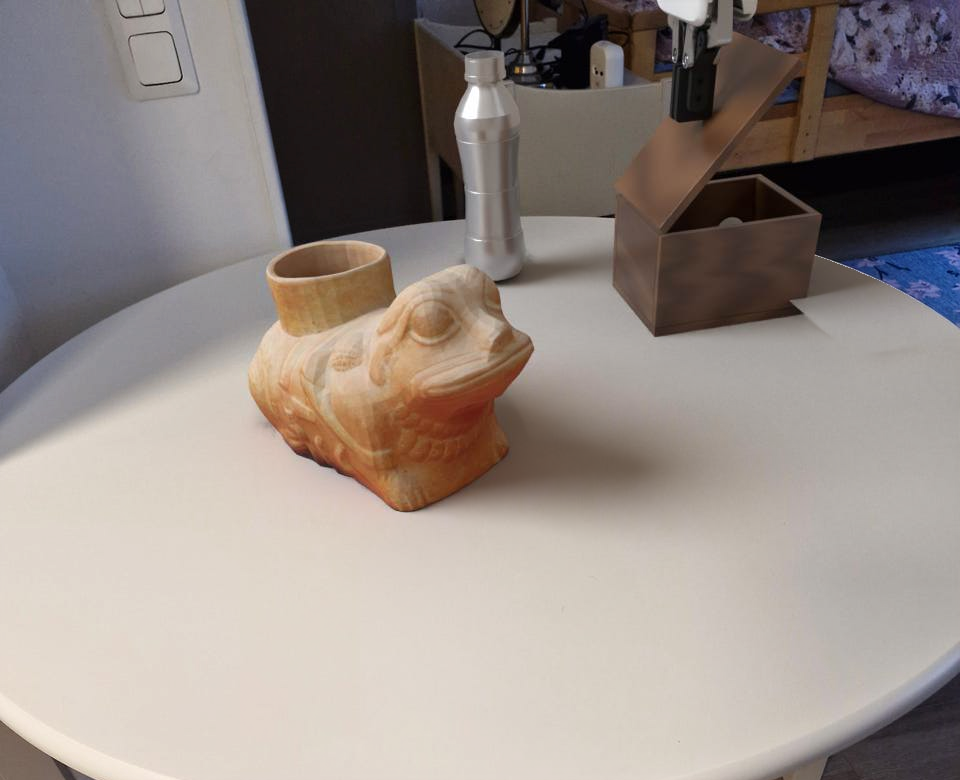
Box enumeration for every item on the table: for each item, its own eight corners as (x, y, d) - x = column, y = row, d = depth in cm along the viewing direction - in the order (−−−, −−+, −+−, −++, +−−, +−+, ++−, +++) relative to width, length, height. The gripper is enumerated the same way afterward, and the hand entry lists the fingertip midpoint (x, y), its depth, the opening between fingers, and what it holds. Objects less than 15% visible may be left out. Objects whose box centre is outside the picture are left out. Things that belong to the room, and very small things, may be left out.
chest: (747, 265, 92) (760, 173, 86) (803, 313, 83) (822, 214, 77) (612, 285, 91) (615, 193, 85) (654, 336, 82) (661, 237, 76)
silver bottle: (537, 269, 95) (533, 48, 82) (506, 292, 91) (496, 64, 78) (485, 260, 98) (473, 45, 84) (453, 283, 94) (434, 61, 80)
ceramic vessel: (447, 550, 60) (423, 337, 50) (227, 429, 74) (173, 243, 64) (578, 463, 67) (580, 260, 57) (354, 367, 81) (323, 190, 71)
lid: (738, 37, 78) (733, 30, 78) (805, 65, 69) (799, 57, 69) (618, 190, 85) (612, 185, 84) (664, 234, 76) (658, 229, 75)
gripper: (814, -177, 58) (770, 135, 71) (723, -177, 69) (699, 94, 82) (705, -167, 58) (680, 147, 70) (630, -168, 68) (620, 104, 81)
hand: (690, 118), depth 76 cm, fingers closed
